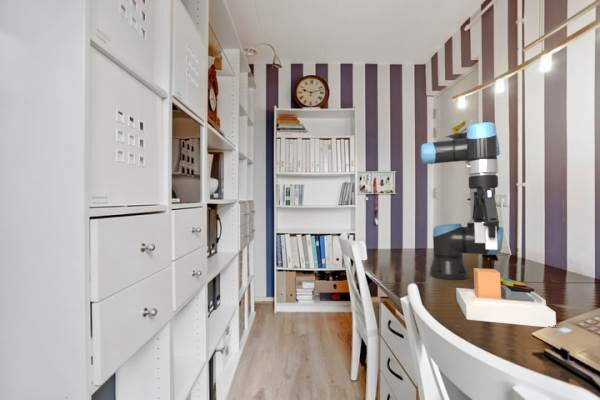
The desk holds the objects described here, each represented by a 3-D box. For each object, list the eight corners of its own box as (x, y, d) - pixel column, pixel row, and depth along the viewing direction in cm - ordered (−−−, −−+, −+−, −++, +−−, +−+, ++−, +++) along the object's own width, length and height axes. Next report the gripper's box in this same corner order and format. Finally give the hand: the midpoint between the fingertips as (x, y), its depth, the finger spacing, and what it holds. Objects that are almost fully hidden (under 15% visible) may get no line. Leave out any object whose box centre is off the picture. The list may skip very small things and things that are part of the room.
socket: (456, 300, 98) (455, 283, 99) (528, 305, 92) (527, 287, 92) (466, 319, 81) (466, 298, 82) (556, 328, 75) (555, 305, 75)
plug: (475, 307, 91) (473, 268, 92) (496, 309, 89) (494, 269, 90) (479, 313, 86) (477, 271, 86) (501, 315, 84) (500, 273, 84)
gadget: (535, 303, 97) (538, 286, 97) (489, 293, 102) (491, 278, 102) (528, 297, 103) (530, 282, 103) (485, 289, 108) (487, 274, 108)
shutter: (499, 295, 89) (499, 284, 89) (525, 296, 87) (525, 286, 87) (506, 301, 83) (506, 290, 83) (534, 303, 81) (533, 291, 81)
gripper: (461, 178, 102) (463, 240, 101) (477, 172, 78) (480, 252, 78) (486, 177, 99) (488, 240, 99) (511, 170, 76) (514, 253, 75)
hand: (485, 245), depth 88 cm, fingers open, 13 cm apart
